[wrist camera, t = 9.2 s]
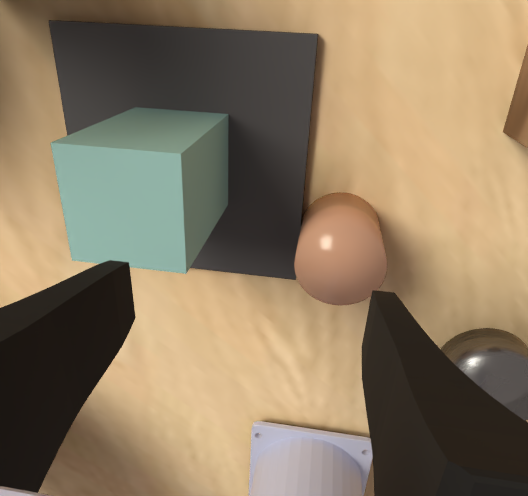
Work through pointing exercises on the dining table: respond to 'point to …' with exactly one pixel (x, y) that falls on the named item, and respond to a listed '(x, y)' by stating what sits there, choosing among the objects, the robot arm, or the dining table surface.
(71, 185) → the teal block
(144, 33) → the black mat
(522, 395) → the metal puck
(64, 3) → the dining table surface
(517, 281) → the dining table surface
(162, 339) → the dining table surface
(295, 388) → the dining table surface
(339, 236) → the peach domed capsule
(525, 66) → the walnut block
